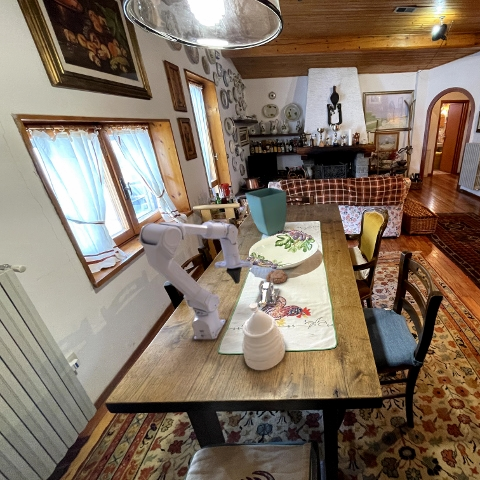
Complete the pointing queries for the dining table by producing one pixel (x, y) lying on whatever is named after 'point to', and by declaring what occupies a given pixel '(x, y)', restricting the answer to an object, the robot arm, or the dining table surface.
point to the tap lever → (264, 294)
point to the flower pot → (268, 209)
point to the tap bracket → (268, 294)
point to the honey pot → (262, 340)
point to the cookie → (276, 276)
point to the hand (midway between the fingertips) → (237, 282)
